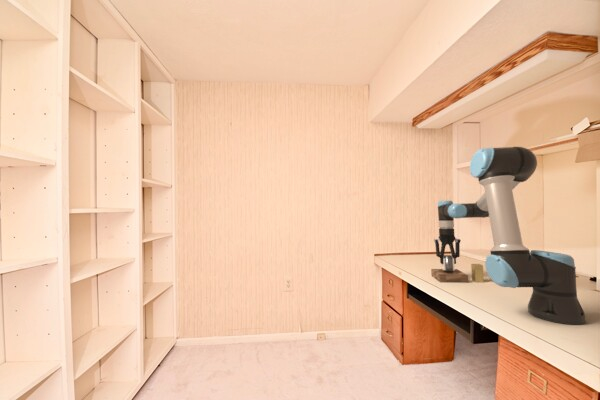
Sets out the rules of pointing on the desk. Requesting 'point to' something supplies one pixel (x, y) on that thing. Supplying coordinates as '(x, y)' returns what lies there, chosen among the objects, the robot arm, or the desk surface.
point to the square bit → (477, 273)
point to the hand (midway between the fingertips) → (448, 269)
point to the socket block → (449, 276)
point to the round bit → (448, 263)
